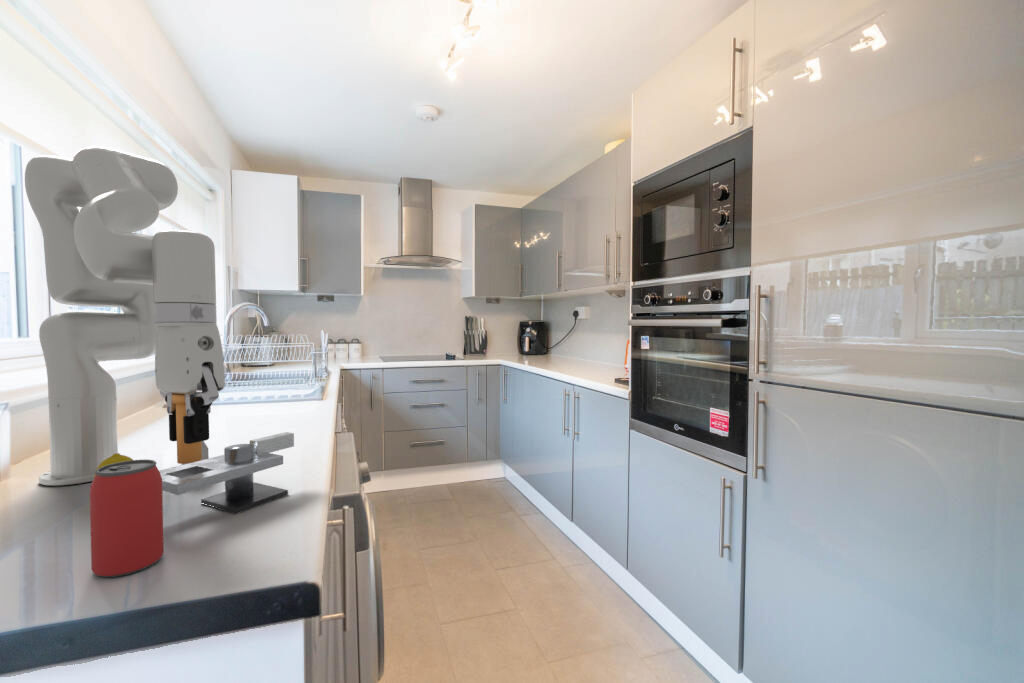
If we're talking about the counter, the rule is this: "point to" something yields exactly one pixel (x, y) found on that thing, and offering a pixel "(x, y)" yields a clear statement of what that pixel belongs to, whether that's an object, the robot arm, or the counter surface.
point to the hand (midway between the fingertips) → (189, 439)
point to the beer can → (126, 518)
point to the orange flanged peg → (184, 451)
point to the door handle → (232, 474)
